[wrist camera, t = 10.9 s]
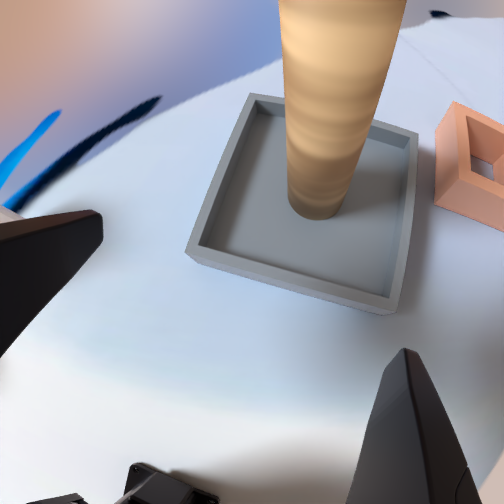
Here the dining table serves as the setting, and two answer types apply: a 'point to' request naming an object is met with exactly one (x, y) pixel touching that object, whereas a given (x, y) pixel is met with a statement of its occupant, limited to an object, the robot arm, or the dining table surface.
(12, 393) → the dining table surface
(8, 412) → the dining table surface
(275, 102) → the tray
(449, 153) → the terracotta socket
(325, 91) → the oak dowel
